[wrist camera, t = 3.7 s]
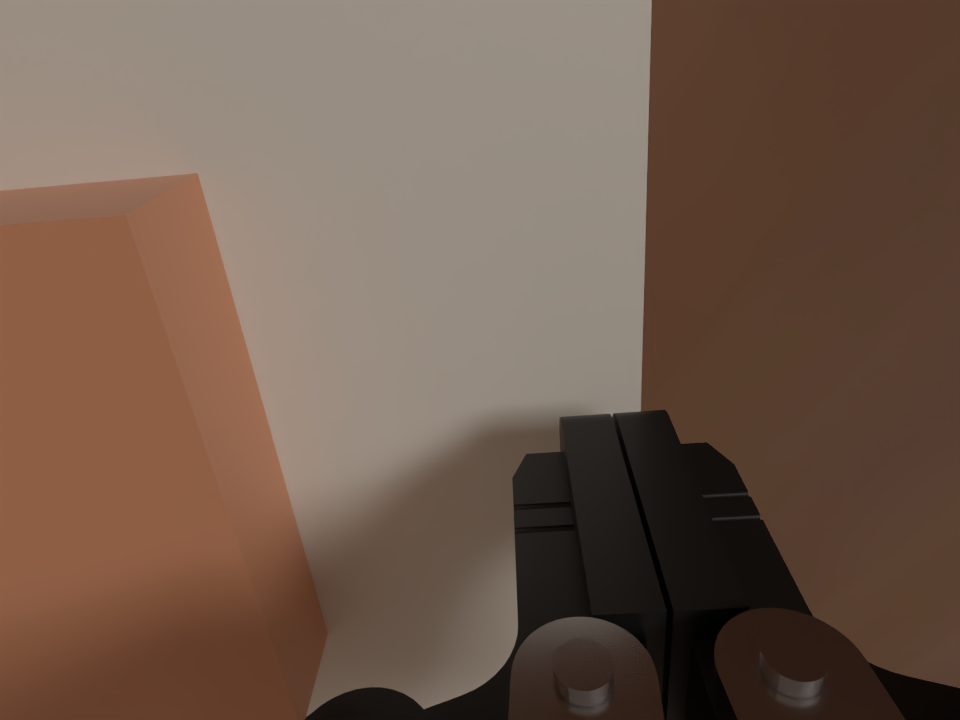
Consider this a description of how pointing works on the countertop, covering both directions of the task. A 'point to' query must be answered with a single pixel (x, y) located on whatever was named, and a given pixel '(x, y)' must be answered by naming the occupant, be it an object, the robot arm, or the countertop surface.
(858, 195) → the countertop surface
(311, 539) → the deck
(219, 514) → the block
